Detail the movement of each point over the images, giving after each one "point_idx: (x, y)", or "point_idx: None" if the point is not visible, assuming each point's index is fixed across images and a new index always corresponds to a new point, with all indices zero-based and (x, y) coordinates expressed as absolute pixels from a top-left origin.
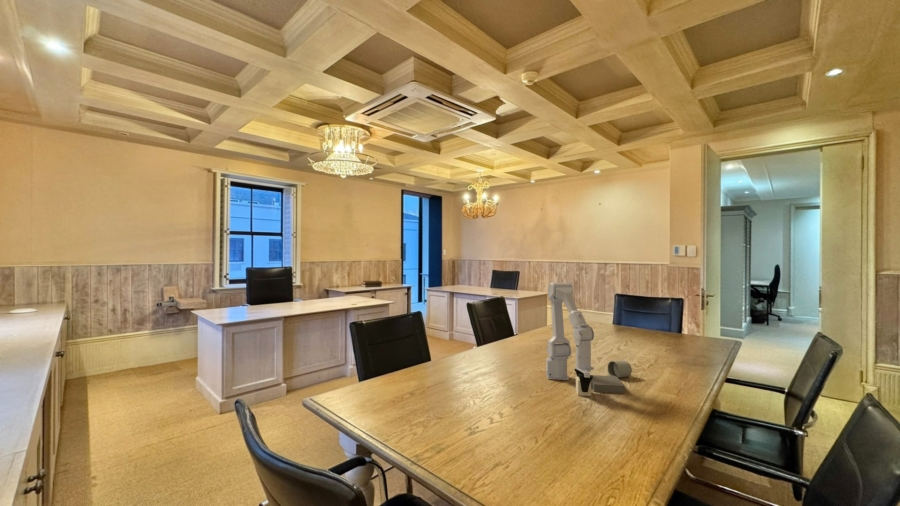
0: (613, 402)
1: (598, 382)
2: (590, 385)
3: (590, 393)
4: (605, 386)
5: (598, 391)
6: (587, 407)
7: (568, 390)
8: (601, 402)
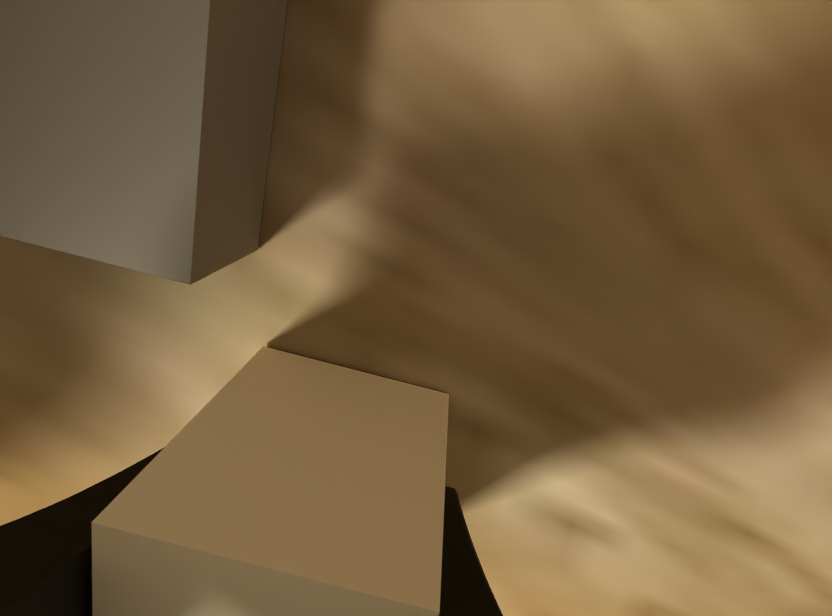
0: (770, 163)
1: (50, 120)
2: (440, 528)
3: (445, 424)
4: (232, 24)
5: (262, 181)
6: (797, 603)
7: None
8: (706, 362)
